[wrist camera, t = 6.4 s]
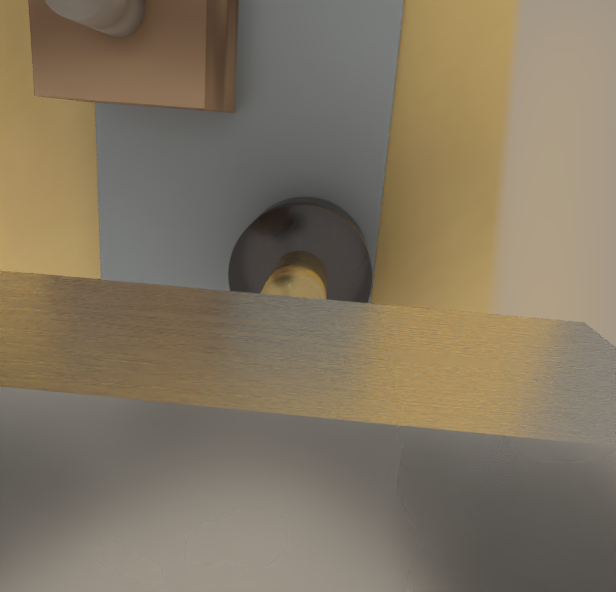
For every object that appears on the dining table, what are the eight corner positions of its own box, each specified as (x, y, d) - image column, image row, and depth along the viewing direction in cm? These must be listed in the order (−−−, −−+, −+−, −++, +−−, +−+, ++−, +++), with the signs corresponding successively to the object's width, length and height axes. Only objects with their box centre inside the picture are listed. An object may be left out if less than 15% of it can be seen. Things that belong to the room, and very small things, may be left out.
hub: (244, 191, 27) (205, 215, 20) (375, 202, 27) (388, 230, 19) (239, 315, 29) (202, 381, 22) (362, 326, 29) (368, 396, 21)
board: (97, -115, 25) (87, -125, 24) (412, -96, 24) (415, -105, 23) (110, 311, 31) (102, 317, 30) (365, 334, 30) (366, 341, 29)
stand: (96, -50, 25) (-48, -154, 16) (240, -41, 25) (179, -141, 15) (101, 103, 27) (-25, 89, 18) (234, 113, 26) (177, 104, 17)
